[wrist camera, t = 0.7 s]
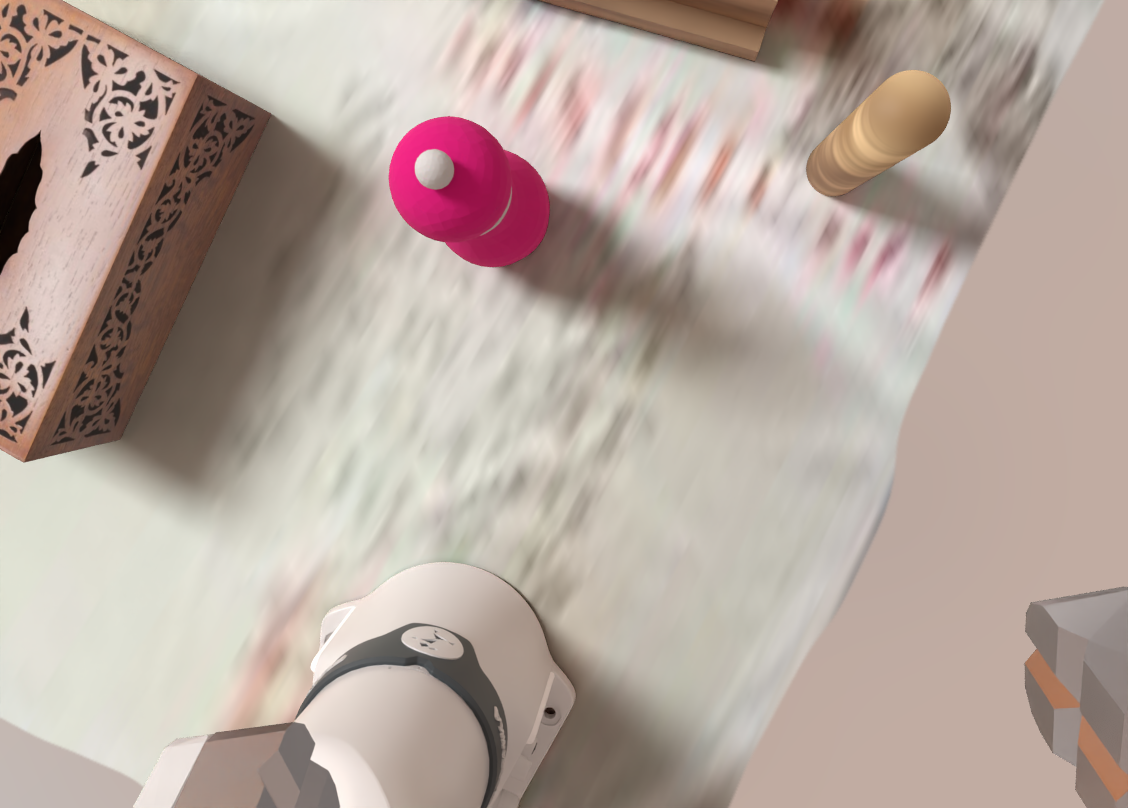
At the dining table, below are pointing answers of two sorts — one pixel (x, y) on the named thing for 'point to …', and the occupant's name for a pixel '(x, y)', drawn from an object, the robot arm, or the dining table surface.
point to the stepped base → (689, 20)
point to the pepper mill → (469, 192)
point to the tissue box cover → (99, 217)
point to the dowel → (880, 132)
